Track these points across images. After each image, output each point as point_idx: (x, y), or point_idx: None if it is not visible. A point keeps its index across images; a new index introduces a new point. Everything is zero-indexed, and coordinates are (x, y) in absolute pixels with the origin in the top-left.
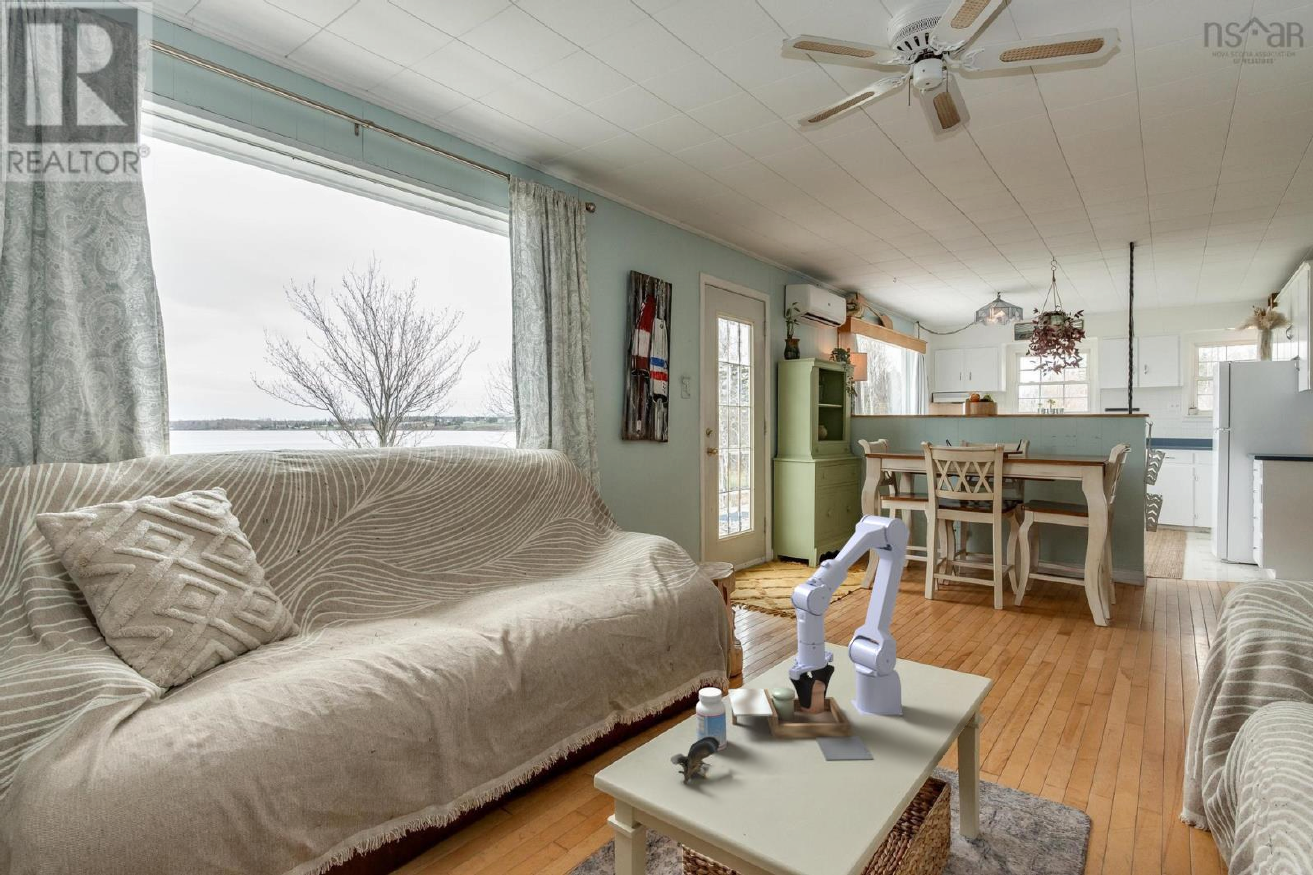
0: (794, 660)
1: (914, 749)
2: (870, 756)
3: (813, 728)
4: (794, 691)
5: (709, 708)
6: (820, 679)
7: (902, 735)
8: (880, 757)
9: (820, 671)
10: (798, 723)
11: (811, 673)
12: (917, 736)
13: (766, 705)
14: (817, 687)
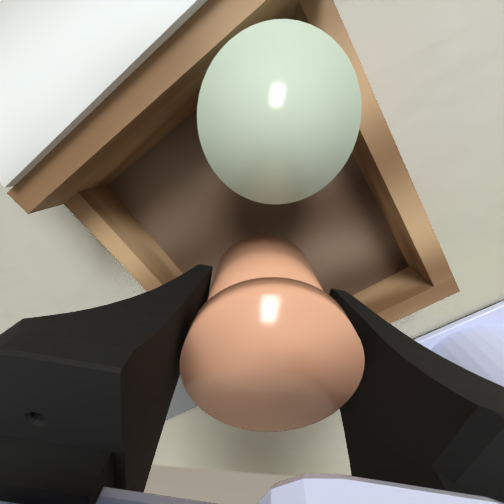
0: (268, 495)
1: (273, 452)
2: (168, 416)
3: None
4: (313, 191)
5: None
6: (362, 403)
7: (329, 430)
8: (199, 416)
9: (388, 478)
10: (238, 213)
11: (408, 368)
12: (338, 449)
13: (58, 100)
14: (227, 412)
